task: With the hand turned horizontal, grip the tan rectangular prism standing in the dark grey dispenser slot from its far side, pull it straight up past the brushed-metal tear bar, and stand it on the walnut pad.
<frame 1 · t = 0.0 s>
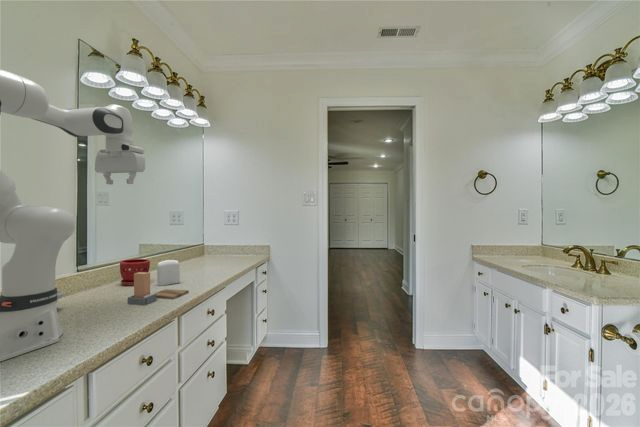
hand: (119, 184, 116), 48 cm above the counter, tool pointing down, fingers open, 8 cm apart
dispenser: (142, 302, 122), on the counter
photo printer: (168, 284, 151), on the counter
pad: (169, 295, 132), on the counter
plant pot: (135, 283, 153), on the counter
tan rectangular prism: (142, 302, 122), resting in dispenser
showerhead: (46, 312, 110), on the counter
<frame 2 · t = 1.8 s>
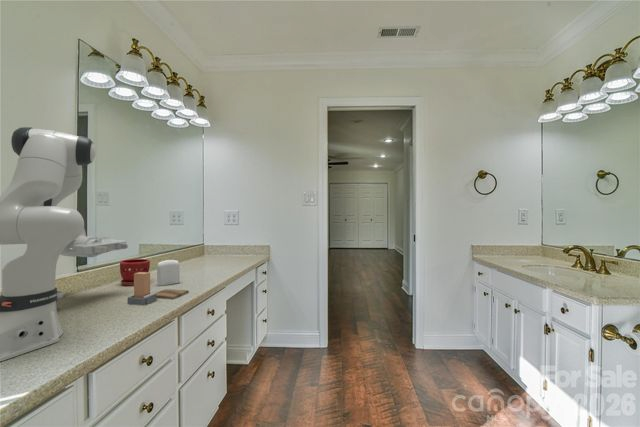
hand: (117, 247, 124), 22 cm above the counter, tool horizontal, fingers open, 8 cm apart
nothing on the counter moved.
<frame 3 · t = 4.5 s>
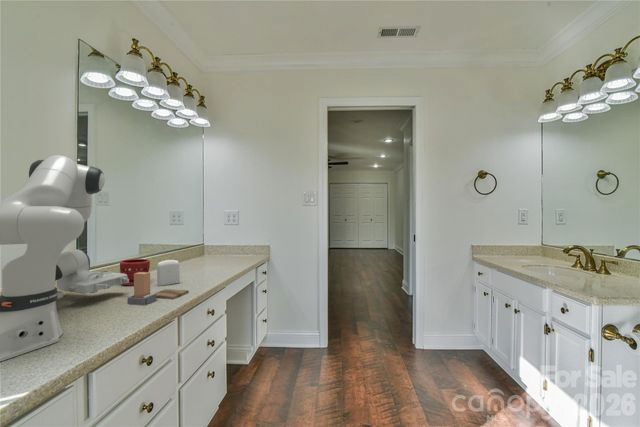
hand: (118, 283, 124), 7 cm above the counter, tool horizontal, fingers open, 8 cm apart
nothing on the counter moved.
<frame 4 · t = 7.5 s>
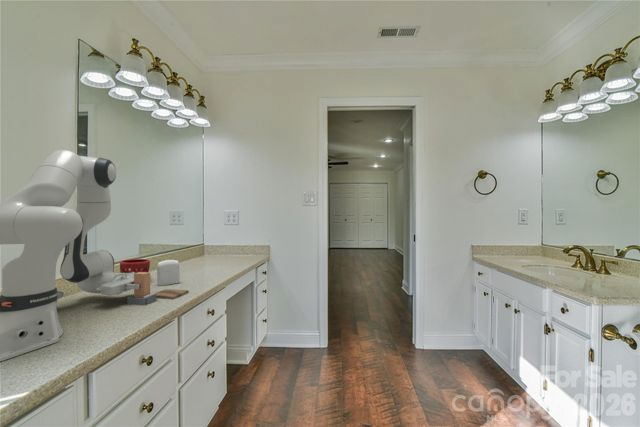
hand: (144, 285, 121), 7 cm above the counter, tool horizontal, fingers closed on tan rectangular prism, 3 cm apart
tan rectangular prism: (142, 302, 122), resting in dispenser, touching gripper
everything else where it was.
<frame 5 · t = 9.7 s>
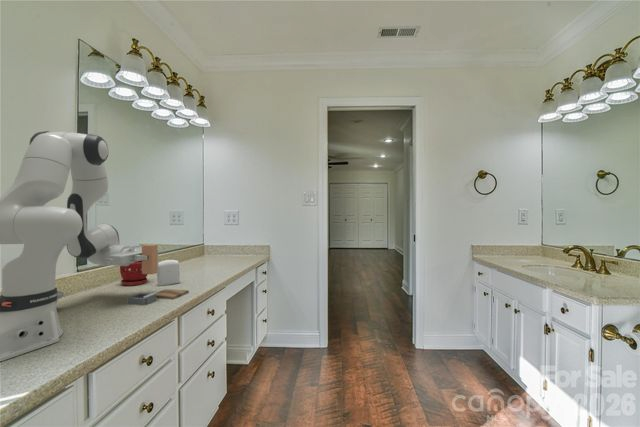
hand: (151, 256, 124), 18 cm above the counter, tool horizontal, fingers closed on tan rectangular prism, 3 cm apart
tan rectangular prism: (149, 273, 125), point 11 cm above the counter, touching gripper
everything else where it was.
when the fingers open (10 cm above the counter, at t = 12.2 s): tan rectangular prism drops 1 cm, resting on pad.
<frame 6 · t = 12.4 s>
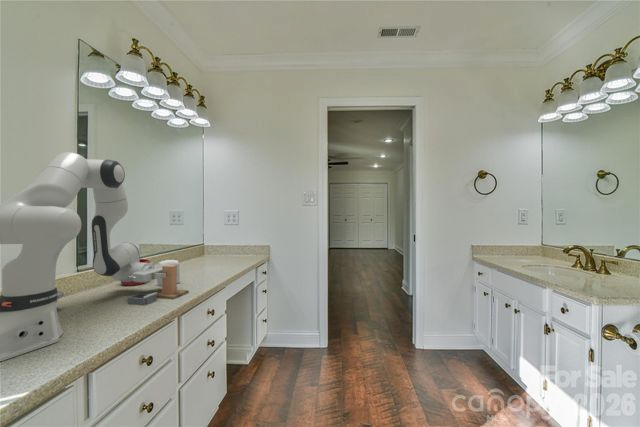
hand: (171, 273, 131), 10 cm above the counter, tool horizontal, fingers open, 5 cm apart
tan rectangular prism: (169, 292, 132), point 1 cm above the counter, touching pad
everything else where it was.
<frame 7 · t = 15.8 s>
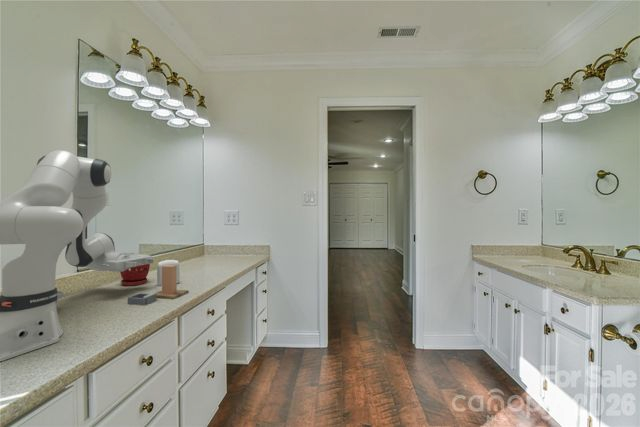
hand: (145, 262, 133), 14 cm above the counter, tool horizontal, fingers open, 8 cm apart
nothing on the counter moved.
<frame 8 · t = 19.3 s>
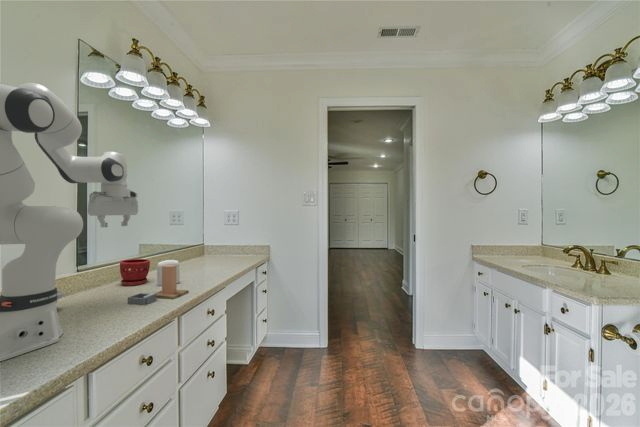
hand: (114, 226, 120), 31 cm above the counter, tool pointing down, fingers open, 8 cm apart
nothing on the counter moved.
at the end: tan rectangular prism inside the target area on the pad (0.0 cm from its centre), point 1.0 cm above the pad's base; tan rectangular prism tilted 0°; the gripper is holding nothing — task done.
